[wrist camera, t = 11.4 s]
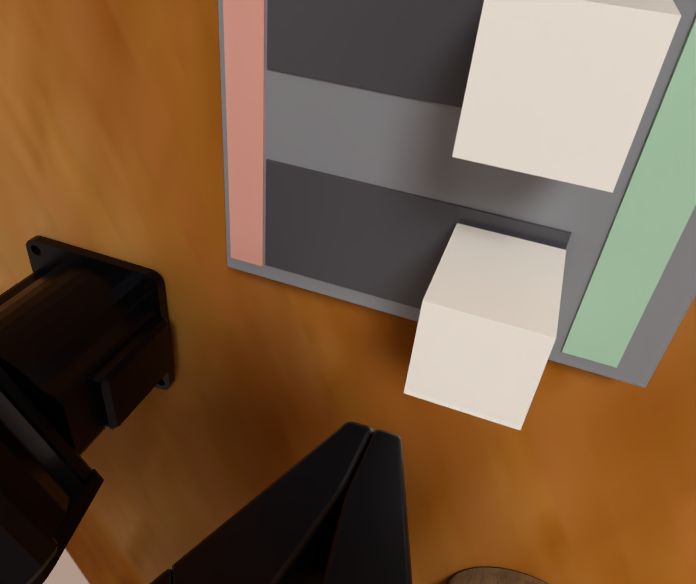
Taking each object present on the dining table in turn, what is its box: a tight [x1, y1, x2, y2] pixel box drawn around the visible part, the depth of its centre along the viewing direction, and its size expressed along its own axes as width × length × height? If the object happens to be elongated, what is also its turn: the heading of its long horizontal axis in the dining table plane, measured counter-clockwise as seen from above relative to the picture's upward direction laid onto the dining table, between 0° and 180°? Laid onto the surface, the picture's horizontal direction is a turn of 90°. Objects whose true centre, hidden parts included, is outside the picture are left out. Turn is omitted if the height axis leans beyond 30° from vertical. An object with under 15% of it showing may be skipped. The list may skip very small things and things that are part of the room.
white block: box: [404, 223, 566, 430], centre depth 16 cm, size 3×3×4 cm
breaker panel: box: [218, 0, 696, 388], centre depth 15 cm, size 14×18×2 cm
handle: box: [452, 0, 681, 193], centre depth 12 cm, size 3×3×4 cm
